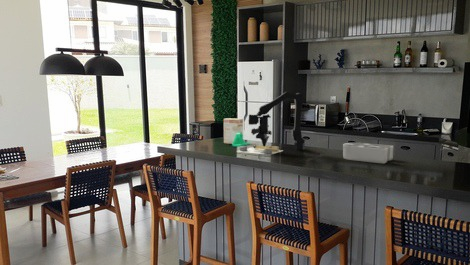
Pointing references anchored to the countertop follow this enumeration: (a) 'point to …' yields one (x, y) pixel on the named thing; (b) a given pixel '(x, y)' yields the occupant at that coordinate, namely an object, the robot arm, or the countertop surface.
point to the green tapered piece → (239, 140)
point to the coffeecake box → (232, 129)
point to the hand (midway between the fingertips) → (264, 146)
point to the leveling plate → (257, 151)
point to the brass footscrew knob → (266, 147)
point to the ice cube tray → (368, 152)
